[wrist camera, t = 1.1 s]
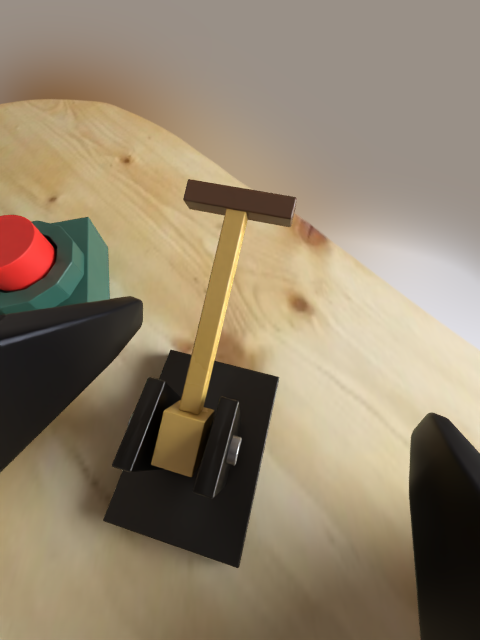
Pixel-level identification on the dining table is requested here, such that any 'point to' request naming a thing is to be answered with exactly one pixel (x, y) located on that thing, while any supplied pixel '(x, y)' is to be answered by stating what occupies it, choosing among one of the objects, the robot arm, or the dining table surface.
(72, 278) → the green boxy piece
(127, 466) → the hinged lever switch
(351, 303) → the dining table surface
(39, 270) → the stop button
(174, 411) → the tap lever
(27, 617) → the dining table surface
